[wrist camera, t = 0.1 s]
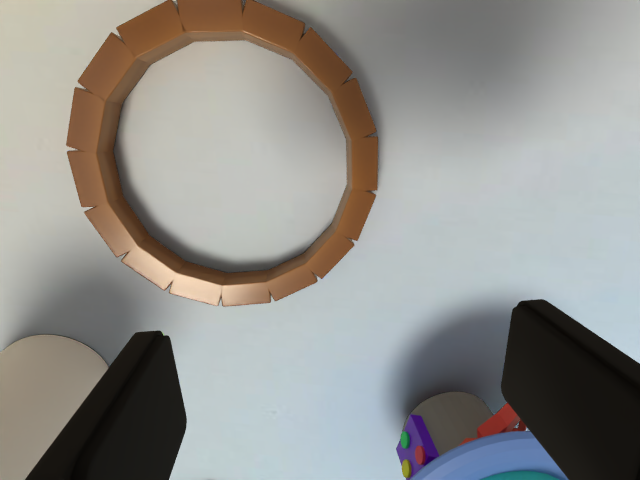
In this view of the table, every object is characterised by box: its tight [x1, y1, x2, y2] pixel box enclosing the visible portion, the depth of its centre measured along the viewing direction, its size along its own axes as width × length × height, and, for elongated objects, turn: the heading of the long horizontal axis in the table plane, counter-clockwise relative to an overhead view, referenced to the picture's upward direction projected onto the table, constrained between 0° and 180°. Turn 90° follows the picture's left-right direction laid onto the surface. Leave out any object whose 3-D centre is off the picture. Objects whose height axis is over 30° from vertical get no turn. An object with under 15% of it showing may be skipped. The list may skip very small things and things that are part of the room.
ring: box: [66, 0, 378, 306], centre depth 21 cm, size 18×18×2 cm
